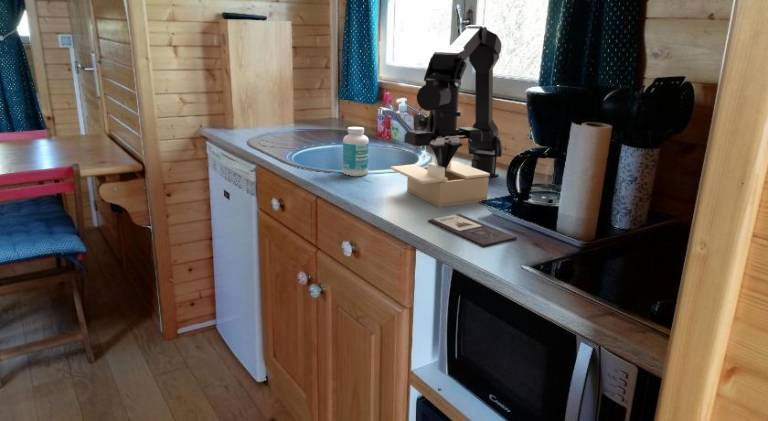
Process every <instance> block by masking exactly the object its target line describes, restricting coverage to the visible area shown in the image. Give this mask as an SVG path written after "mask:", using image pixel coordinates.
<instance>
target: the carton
mask: <svg viewBox="0 0 768 421" xmlns="http://www.w3.org/2000/svg"><path fill="white" fill-rule="evenodd" d="M421 167H422V168H424V169H427V166H421ZM445 177H446V178H448V181H442V182H433V183H425V184H422V183H420V182H418V181H415V180H413V179H411V178H409V177H407V181H406V182H407V186H406V187H407V189H406V191H407V192H409V193H411V194H413V195H415V196H417V197H419V198H421V199H423V200H424V201H427V202H429V203H431V204H433V205H435V206H436V207H439V208H442V207H449V206H457V205H463V204H465V205H466V204H470V203H471V204H472V203H478V202H479V201H480V202H483V201H482V200H487V201H488V195H489V194H488V193H489V179H490V177H487V176H486V177H477V178H468V179H466V178H463V177H461V176H458V175H456V174H453V173H451V172H448V171H446V170H445Z"/></svg>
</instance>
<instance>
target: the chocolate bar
mask: <svg viewBox="0 0 768 421" xmlns="http://www.w3.org/2000/svg"><path fill="white" fill-rule="evenodd" d="M427 223H428V224H431V225H433V226H436V227H438V228H440V229H441V230H444V231H447V232H449V233H451V234H453V235H455V236H457V237H460V238H461V239H463V240H466V241H468V242H471V243H472V244H475V245H477V246H479V247H482V248H487V247H491V246H496V245H500V244H503V243H504V244H505V243H507V242H512V241H516V240H518V239H517V236H516V235H512V234H510V233H508V232H505V231H503V230H500V229H498V228H495V227H493V226H491V225H488V224H486V223H483V222H481V221H478V220H476V219H473V218H471V217H468V216H466V215H463V214H461V213H456V214H451V215H447V216H442V217H436V218H432V219H428V220H427Z"/></svg>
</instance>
